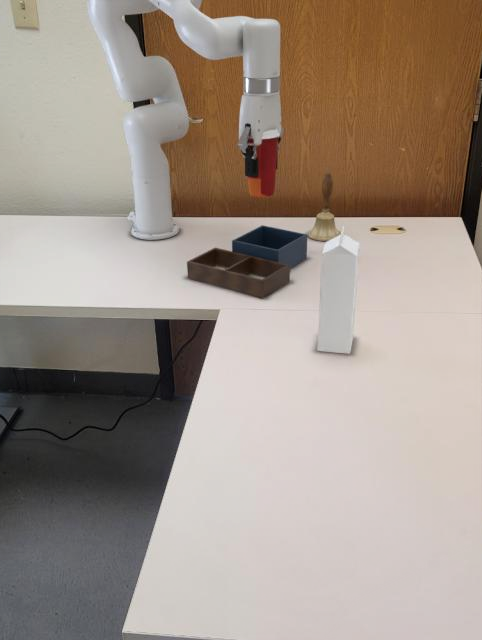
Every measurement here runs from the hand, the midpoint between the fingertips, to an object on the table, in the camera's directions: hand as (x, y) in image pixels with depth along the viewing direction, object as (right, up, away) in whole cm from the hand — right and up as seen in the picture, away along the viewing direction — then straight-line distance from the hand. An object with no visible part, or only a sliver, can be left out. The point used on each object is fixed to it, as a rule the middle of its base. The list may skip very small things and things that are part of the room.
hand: (261, 172), depth 158 cm
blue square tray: (+3, -18, +12) cm, 22 cm away
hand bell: (+18, -9, +27) cm, 33 cm away
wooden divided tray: (-5, -23, +3) cm, 24 cm away
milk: (+12, -40, -24) cm, 48 cm away
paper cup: (0, -4, +3) cm, 5 cm away
